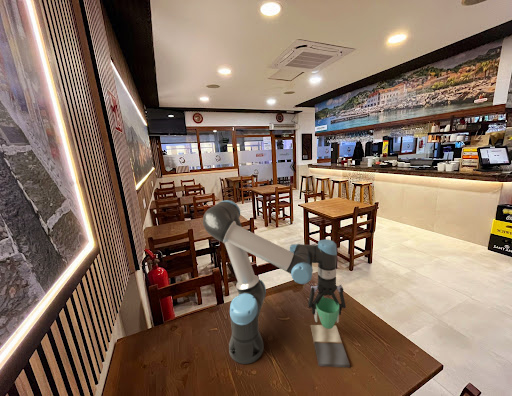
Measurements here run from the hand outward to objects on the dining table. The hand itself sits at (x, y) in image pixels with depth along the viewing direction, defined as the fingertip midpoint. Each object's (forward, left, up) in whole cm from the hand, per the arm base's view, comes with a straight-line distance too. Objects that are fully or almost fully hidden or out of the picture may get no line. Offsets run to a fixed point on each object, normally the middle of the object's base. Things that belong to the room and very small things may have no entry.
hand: (326, 320), depth 101 cm
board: (0, -5, -8) cm, 10 cm away
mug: (0, 0, 0) cm, 1 cm away
